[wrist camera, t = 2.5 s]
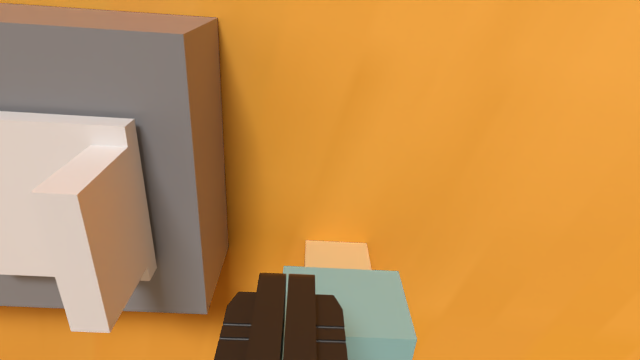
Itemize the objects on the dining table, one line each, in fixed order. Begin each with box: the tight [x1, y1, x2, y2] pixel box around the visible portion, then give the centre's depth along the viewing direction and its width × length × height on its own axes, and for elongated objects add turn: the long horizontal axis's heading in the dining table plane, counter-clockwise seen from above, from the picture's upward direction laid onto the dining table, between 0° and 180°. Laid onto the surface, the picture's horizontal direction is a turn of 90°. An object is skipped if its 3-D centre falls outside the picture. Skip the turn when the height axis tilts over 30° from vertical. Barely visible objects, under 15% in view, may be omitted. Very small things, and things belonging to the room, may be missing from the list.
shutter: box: [0, 111, 157, 333], centre depth 13 cm, size 6×6×4 cm
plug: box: [282, 240, 417, 360], centre depth 20 cm, size 5×5×8 cm
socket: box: [0, 3, 228, 314], centre depth 17 cm, size 16×12×5 cm
